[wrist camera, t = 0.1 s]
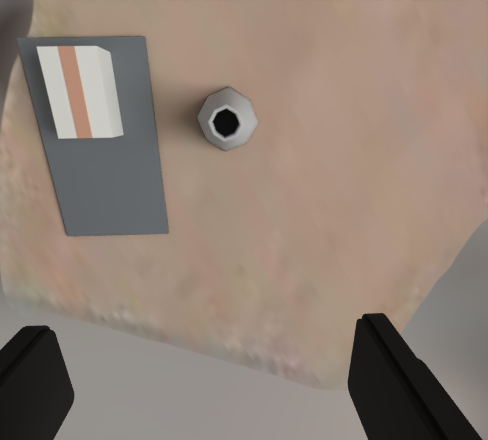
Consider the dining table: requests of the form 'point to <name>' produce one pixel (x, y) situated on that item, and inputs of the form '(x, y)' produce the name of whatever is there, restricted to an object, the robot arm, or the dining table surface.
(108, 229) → the mat
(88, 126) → the card deck
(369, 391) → the robot arm
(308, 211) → the dining table surface
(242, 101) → the flask
